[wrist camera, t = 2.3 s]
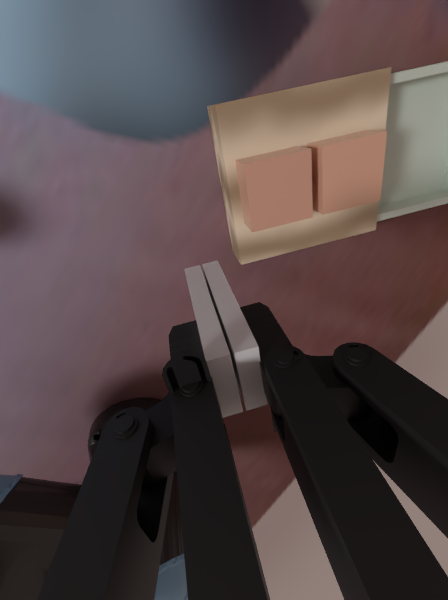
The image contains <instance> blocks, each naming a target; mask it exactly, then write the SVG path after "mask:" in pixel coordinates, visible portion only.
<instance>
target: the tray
mask: <svg viewBox="0 0 448 600" xmlns="http://www.w3.org/2000/svg"><path fill="white" fill-rule="evenodd" d="M385 131H387V139H386V149H385V159H384V169H383V179H382V189H381V200H380V201H379V202H378V213H377V221H381V220H385V219H389V218H392V217H396V216H400V215H404V214H408V213H412V212H416V211H420V210H424V209H427V208H431V207H435V206H439V205H443V204H447V203H448V61H445V62H440V63H436V64H431V65H426V66H422V67H417V68H413V69H408V70H403V71H399V72H394V73H391V78H390V88H389V98H388V109H387V119H386V130H385Z"/></svg>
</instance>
